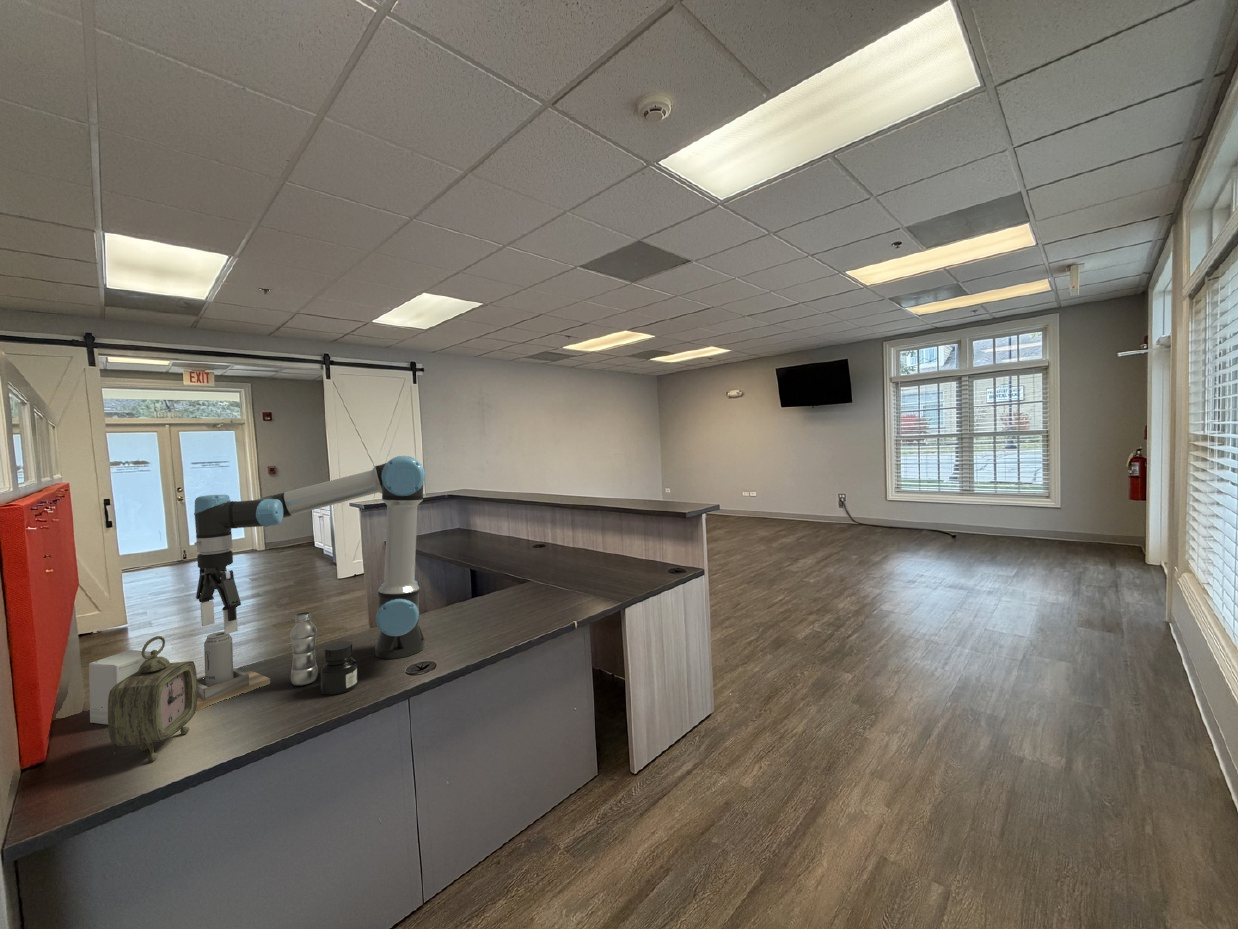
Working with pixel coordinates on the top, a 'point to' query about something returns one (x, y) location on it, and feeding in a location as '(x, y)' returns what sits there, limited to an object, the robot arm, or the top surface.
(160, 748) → the top surface
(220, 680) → the energy drink can
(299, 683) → the plastic bottle
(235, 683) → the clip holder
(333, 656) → the ink bottle
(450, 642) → the top surface
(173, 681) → the tabletop clock
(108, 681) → the supplement box
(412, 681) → the top surface
